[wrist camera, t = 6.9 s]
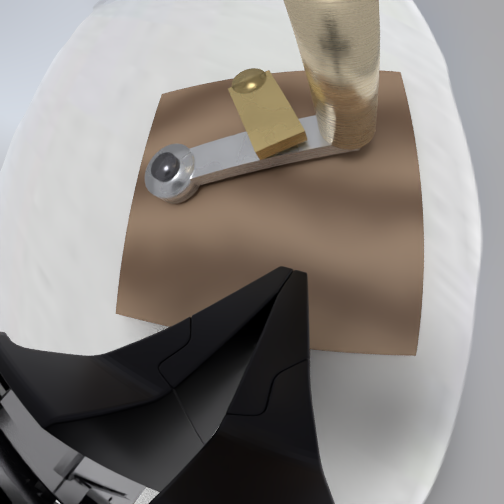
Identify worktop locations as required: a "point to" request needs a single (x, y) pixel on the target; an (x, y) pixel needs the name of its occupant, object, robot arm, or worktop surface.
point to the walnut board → (286, 225)
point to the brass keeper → (265, 113)
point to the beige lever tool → (322, 92)
